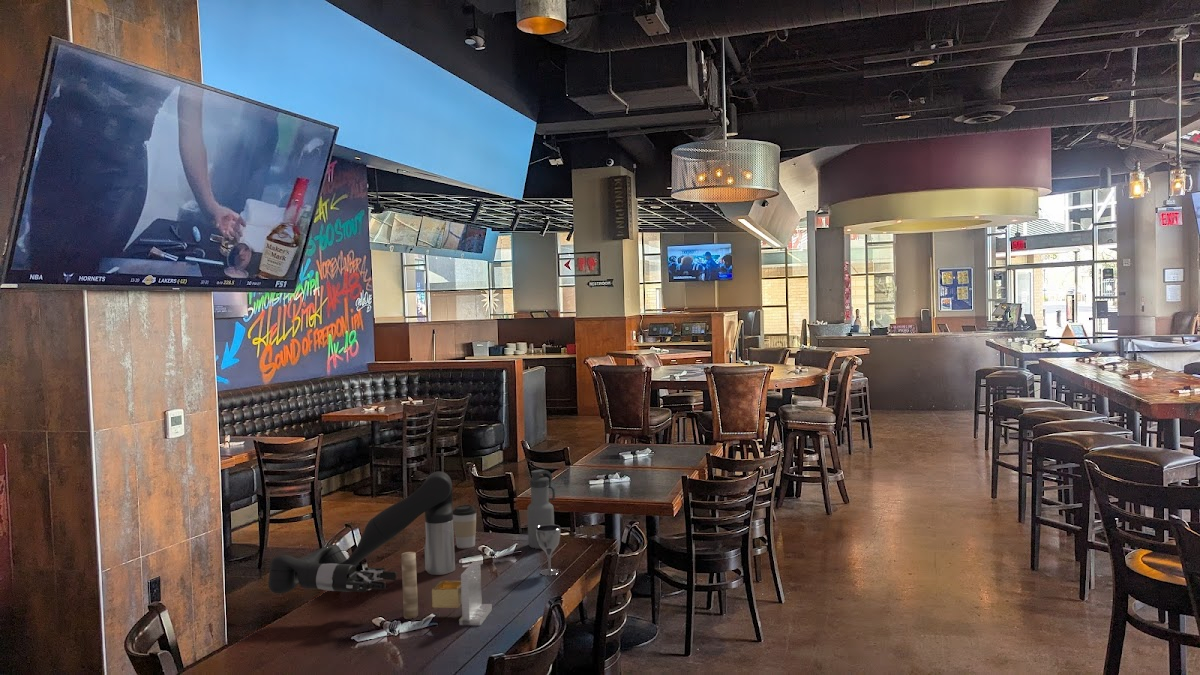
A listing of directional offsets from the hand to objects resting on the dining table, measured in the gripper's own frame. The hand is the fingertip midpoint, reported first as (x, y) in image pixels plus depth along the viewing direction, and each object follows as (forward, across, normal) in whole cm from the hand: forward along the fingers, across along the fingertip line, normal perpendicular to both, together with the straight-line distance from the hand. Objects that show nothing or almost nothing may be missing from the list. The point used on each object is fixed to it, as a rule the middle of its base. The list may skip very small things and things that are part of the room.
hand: (390, 580), depth 221 cm
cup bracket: (+21, -1, -9) cm, 23 cm away
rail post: (+6, -1, -10) cm, 12 cm away
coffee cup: (+2, -70, -9) cm, 71 cm away
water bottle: (+31, -70, -8) cm, 77 cm away
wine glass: (+40, -39, -8) cm, 56 cm away
